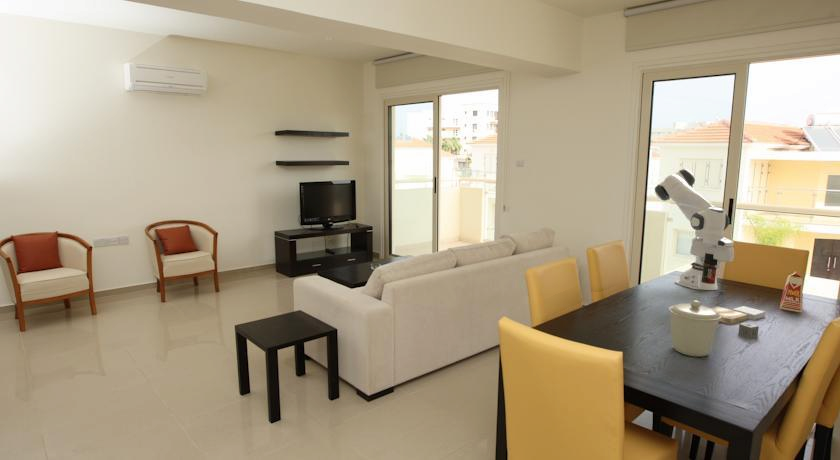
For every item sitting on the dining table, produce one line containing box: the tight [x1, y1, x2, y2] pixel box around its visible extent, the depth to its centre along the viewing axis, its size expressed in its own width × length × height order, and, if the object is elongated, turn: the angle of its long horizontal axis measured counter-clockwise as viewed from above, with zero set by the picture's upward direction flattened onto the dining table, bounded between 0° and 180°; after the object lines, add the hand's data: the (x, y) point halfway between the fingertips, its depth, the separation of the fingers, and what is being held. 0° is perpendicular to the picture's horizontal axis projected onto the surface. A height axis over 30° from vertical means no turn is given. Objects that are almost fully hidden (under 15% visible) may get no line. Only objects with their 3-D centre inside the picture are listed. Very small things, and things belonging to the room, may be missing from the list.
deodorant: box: [701, 253, 719, 284], centre depth 252 cm, size 6×6×15 cm
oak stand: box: [710, 305, 748, 325], centre depth 239 cm, size 14×14×3 cm
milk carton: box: [779, 271, 804, 313], centre depth 252 cm, size 9×9×20 cm
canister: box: [668, 299, 721, 358], centre depth 196 cm, size 18×18×21 cm
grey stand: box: [732, 305, 766, 321], centre depth 243 cm, size 10×10×2 cm
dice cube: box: [737, 322, 760, 339], centre depth 215 cm, size 5×5×5 cm
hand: (710, 266), depth 252 cm, fingers closed on deodorant, 6 cm apart
